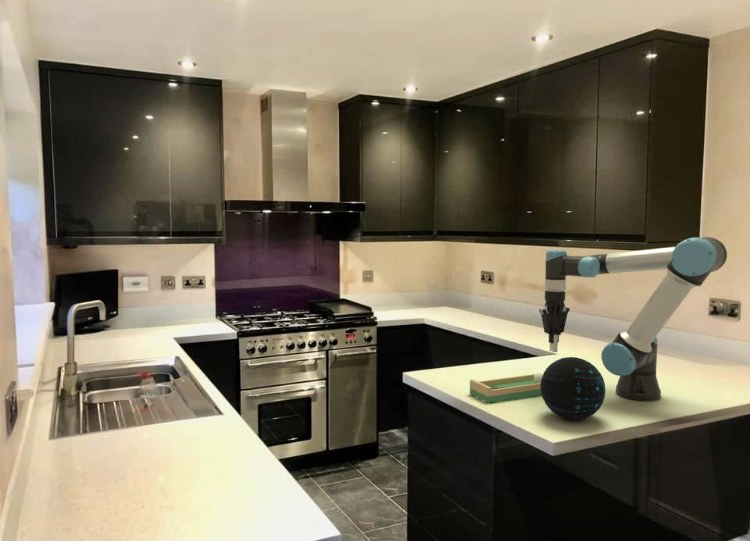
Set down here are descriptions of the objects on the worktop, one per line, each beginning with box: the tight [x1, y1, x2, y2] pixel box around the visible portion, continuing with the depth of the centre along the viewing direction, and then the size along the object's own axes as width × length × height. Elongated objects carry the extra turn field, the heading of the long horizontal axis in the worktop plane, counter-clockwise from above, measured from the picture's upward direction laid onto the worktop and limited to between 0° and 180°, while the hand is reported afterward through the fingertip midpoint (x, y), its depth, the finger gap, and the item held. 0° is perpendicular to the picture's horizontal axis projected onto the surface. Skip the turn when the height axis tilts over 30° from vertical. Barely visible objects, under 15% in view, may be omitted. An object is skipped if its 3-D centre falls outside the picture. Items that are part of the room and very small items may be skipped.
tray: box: [469, 373, 542, 404], centre depth 212 cm, size 12×32×6 cm, turn 113°
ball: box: [534, 372, 543, 383], centre depth 216 cm, size 4×4×4 cm
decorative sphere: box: [540, 356, 607, 421], centre depth 184 cm, size 20×20×20 cm
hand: (553, 351), depth 218 cm, fingers closed
